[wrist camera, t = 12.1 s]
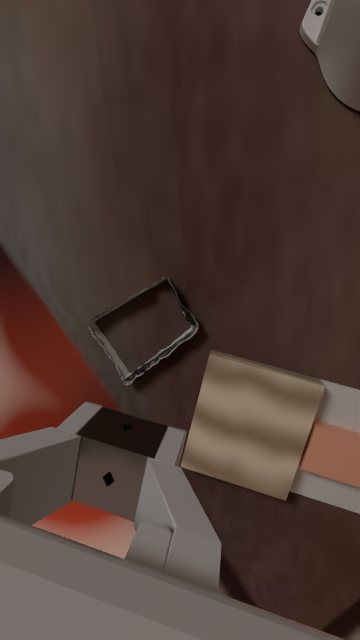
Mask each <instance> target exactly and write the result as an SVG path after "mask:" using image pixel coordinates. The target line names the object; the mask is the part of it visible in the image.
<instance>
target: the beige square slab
mask: <svg viewBox="0 0 360 640" xmlns="http://www.w3.org/2000/svg"><path fill="white" fill-rule="evenodd" d="M324 389H325V385H324V384H323V382H322V381H321V380H320V379H318V378H314V377H310V376H307V375H303V374H299V373H296V372H292V371H288V370H285V369H281V368H277V367H274V366H270V365H266V364H263V363H259V362H255V361H252V360H248V359H244V358H241V357H237V356H233V355H230V354H226V353H222V352H219V351H215V350H211V352H210V355H209V359H208V363H207V367H206V371H205V374H204V378H203V382H202V386H201V390H200V394H199V398H198V401H197V405H196V409H195V413H194V417H193V421H192V425H191V428H190V432H189V436H188V440H187V444H186V448H185V452H184V455H183V459H182V463H181V467H184V468H187V469H190V470H193V471H196V472H199V473H202V474H205V475H208V476H211V477H214V478H217V479H220V480H223V481H226V482H230V483H233V484H236V485H239V486H242V487H245V488H248V489H251V490H254V491H257V492H260V493H263V494H266V495H269V496H272V497H275V498H278V499H282V500H285V501H286V499H287V496H288V493H289V491H290V488H291V485H292V482H293V479H294V476H295V473H296V470H297V467H298V464H299V462H300V459H301V456H302V453H303V450H304V447H305V444H306V441H307V438H308V436H309V433H310V430H311V427H312V424H313V421H314V418H315V415H316V412H317V409H318V407H319V404H320V401H321V398H322V395H323V392H324Z"/></svg>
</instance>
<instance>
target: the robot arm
mask: <svg viewBox="0 0 360 640" xmlns="http://www.w3.org/2000/svg"><path fill="white" fill-rule="evenodd" d="M316 12H321V13H322V15H320V16H317V15H315V13H316ZM300 35H301V37H302V39H303V41H304V42H305V43H306V44H307V46H308V47H309V48H310V49H311V50H312V51H313V52H314V53H315V54H316V56H317V58H318V61H319V64H320V67H321V71H322V74H323V76H324V79H325V81H326V83H327V85H328V87H329V88H330V90H331V91H332V92H333V93H334V95H335V96H336V97H337V98H338V99H339V100H341V101H342V102H343V103H344V104H346V105H347V106H349V107H351V108H353V109H355V110H358V111H360V0H312V1H311V3H310V5H309V7H308V10H307V12H306V14H305V16H304V19H303V21H302V23H301V26H300ZM185 437H186V431H185V430H181V429H177V428H173V427H168V426H166V425H163V424H159V423H155V422H151V421H148V420H144V419H140V418H137V417H135V416H132V415H128V414H125V413H122V412H119V411H116V410H113V409H110V408H106V407H103V406H101V405H97V404H94V403H90V402H85V403H84V404H83V405H82V406H80V408H78V409H77V410H76V411H75V412H74V413H73V414H72V415H71V416H69V417H68V418H67V419H66V420H65V421H64V422H63V423H62V424H61V425H60V426H59V427H58V428H53V427H49V428H45V429H41V430H37V431H33V432H29V433H25V434H21V435H17V436H12V437H8V438H5V439H0V640H345V639H342V638H339V637H336V636H334V635H331V634H328V633H325V632H323V631H320V630H317V629H315V628H312V627H309V626H306V625H304V624H301V623H298V622H295V621H292V620H289V619H287V618H284V617H281V616H279V615H276V614H273V613H270V612H268V611H265V610H262V609H259V608H257V607H254V606H251V605H248V604H245V603H243V602H240V601H237V600H234V599H232V598H229V597H226V596H223V595H221V594H218V584H219V570H220V556H221V542H220V540H219V538H218V536H217V535H216V533H215V531H214V529H213V527H212V525H211V523H210V521H209V520H208V518H207V516H206V514H205V512H204V510H203V508H202V506H201V505H200V503H199V501H198V499H197V497H196V495H195V493H194V491H193V490H192V488H191V486H190V484H189V482H188V480H187V478H186V476H185V474H184V473H183V471H182V469H181V468H180V467H178V466H179V461H180V457H181V453H182V449H183V445H184V441H185ZM71 500H72V501H75V502H79V503H82V504H86V505H88V506H92V507H95V508H98V509H101V510H104V511H107V512H109V513H112V514H115V515H118V516H120V517H123V518H125V519H128V520H130V521H133V522H134V527H135V535H134V537H133V540H132V542H131V545H130V547H129V550H128V552H127V555H126V557H125V559H122V558H120V557H117V556H114V555H111V554H109V553H106V552H103V551H100V550H98V549H95V548H92V547H89V546H87V545H84V544H81V543H78V542H76V541H73V540H70V539H67V538H65V537H62V536H59V535H56V534H54V533H51V532H48V531H45V530H42V529H40V528H37V527H34V526H31V525H32V524H34V523H36V522H37V521H39V520H41V519H43V518H44V517H46V516H48V515H49V514H51V513H53V512H54V511H56V510H58V509H60V508H61V507H63V506H65V505H66V504H68V503H70V501H71Z"/></svg>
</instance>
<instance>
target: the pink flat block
mask: <svg viewBox="0 0 360 640" xmlns="http://www.w3.org/2000/svg"><path fill="white" fill-rule="evenodd" d="M299 464H300V468H301V469H303V470H306V471H309V472H312V473H315V474H318V475H321V476H325V477H328V478H331V479H334V480H337V481H340V482H343V483H346V484H350V485H353V486H356V487H359V488H360V433H358V432H355V431H352V430H348V429H345V428H342V427H338V426H335V425H332V424H328V423H325V422H322V421H318V420H315V419H314V421H313V424H312V427H311V430H310V433H309V436H308V438H307V441H306V444H305V447H304V450H303V453H302V456H301V459H300V462H299Z"/></svg>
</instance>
